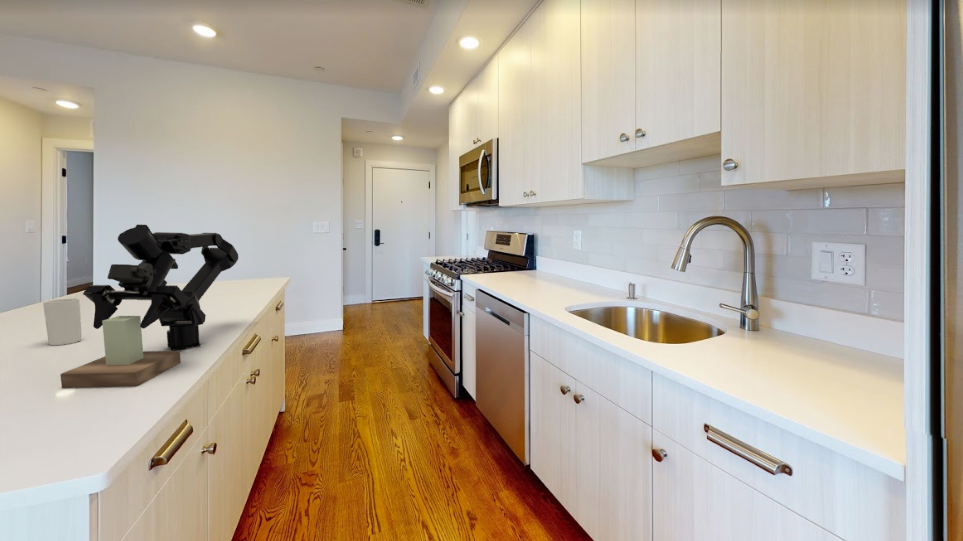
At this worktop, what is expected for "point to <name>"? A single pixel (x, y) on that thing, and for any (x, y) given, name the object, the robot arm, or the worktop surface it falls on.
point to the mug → (63, 321)
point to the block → (122, 340)
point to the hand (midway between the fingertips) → (119, 327)
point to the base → (120, 371)
